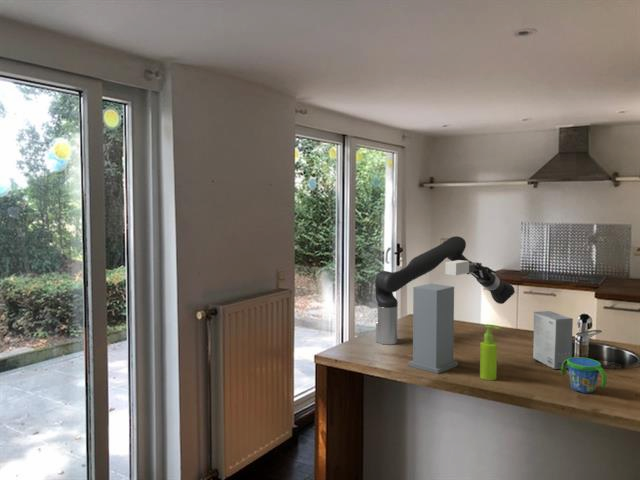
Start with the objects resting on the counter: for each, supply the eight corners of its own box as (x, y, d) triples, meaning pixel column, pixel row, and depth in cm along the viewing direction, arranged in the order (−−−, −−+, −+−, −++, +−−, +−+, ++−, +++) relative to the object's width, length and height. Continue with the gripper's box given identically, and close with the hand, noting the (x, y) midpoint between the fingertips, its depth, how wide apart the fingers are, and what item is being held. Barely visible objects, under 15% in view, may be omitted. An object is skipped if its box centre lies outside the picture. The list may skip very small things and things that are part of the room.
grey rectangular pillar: (437, 373, 200) (438, 291, 197) (408, 365, 210) (408, 287, 208) (457, 365, 210) (458, 286, 207) (428, 358, 220) (429, 282, 217)
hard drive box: (572, 368, 205) (573, 318, 203) (554, 370, 203) (555, 319, 202) (548, 356, 220) (550, 310, 218) (532, 358, 219) (533, 311, 217)
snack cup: (613, 395, 177) (614, 365, 177) (592, 400, 173) (593, 370, 172) (574, 380, 192) (575, 353, 191) (553, 385, 187) (554, 357, 186)
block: (456, 275, 213) (456, 263, 213) (445, 274, 217) (445, 262, 217) (482, 270, 228) (482, 258, 227) (472, 268, 231) (472, 257, 231)
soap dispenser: (497, 381, 191) (498, 328, 189) (478, 378, 195) (478, 325, 193) (500, 377, 196) (501, 324, 194) (482, 373, 200) (483, 322, 198)
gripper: (476, 270, 243) (458, 254, 232) (505, 273, 232) (488, 257, 221) (471, 285, 241) (454, 270, 230) (500, 289, 230) (483, 273, 219)
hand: (471, 264), depth 226 cm, fingers closed on block, 4 cm apart
